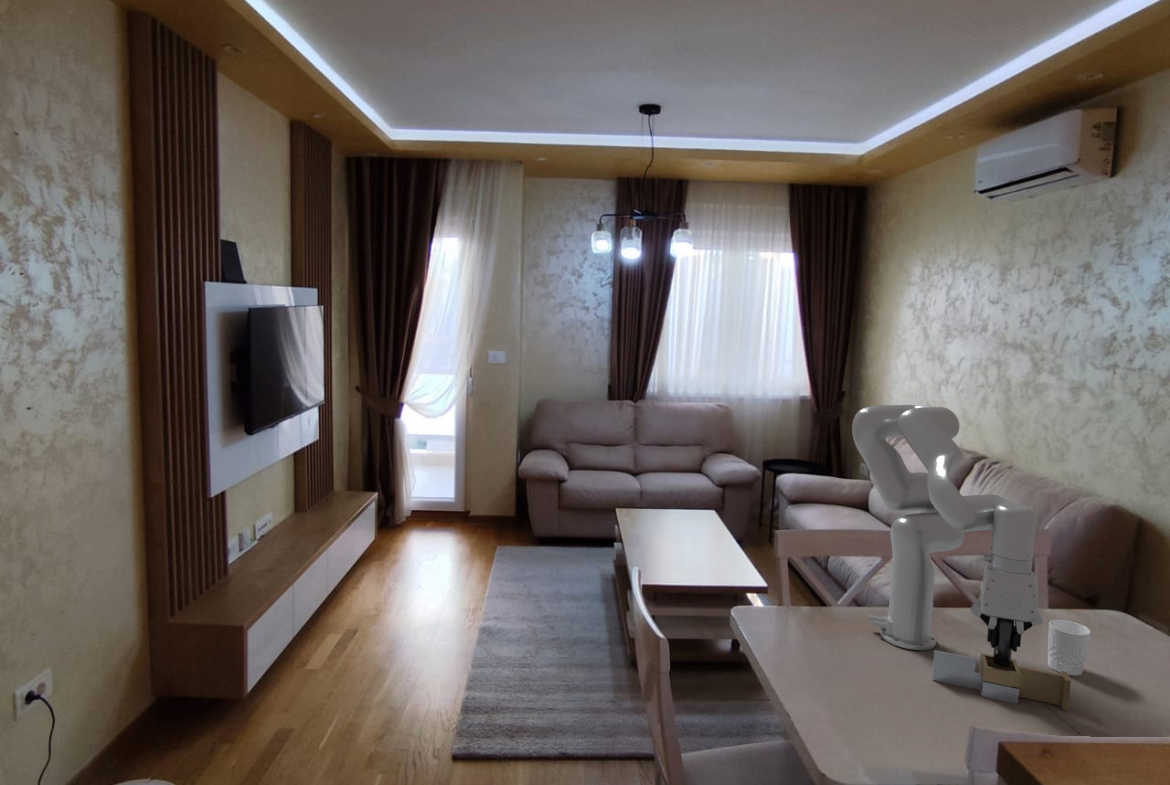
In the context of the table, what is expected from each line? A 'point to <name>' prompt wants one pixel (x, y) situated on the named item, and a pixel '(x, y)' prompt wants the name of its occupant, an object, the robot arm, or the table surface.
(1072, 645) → the white cup
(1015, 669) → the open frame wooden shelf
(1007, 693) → the fixed leaf
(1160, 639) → the table surface
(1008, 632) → the pin
